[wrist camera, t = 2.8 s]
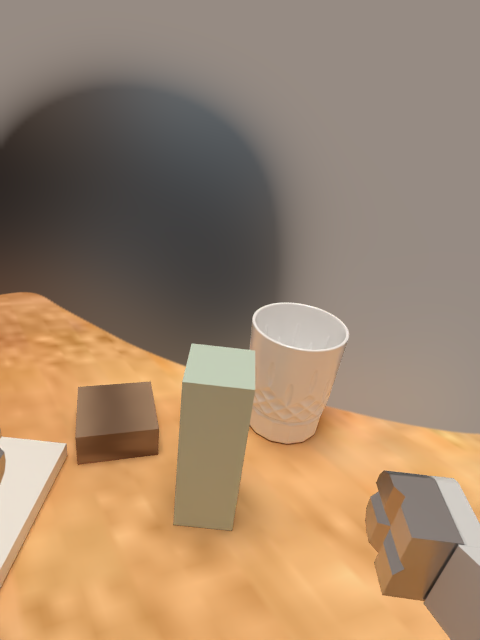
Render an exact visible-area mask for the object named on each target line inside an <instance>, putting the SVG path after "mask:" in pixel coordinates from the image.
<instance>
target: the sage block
mask: <svg viewBox="0 0 480 640" xmlns="http://www.w3.org/2000/svg"><path fill="white" fill-rule="evenodd" d="M254 394H255V351H253V350H244V349H235V348H227V347H218V346H209V345H199V344H192V345H191V349H190V353H189V357H188V361H187V365H186V369H185V373H184V377H183V382H182V397H181V412H180V428H179V444H178V459H177V475H176V491H175V506H174V522H173V525H180V526H190V527H200V528H209V529H219V530H229V531H232V528H233V522H234V516H235V510H236V504H237V498H238V492H239V486H240V480H241V474H242V468H243V461H244V455H245V449H246V443H247V437H248V431H249V425H250V419H251V413H252V407H253V400H254Z"/></svg>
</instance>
